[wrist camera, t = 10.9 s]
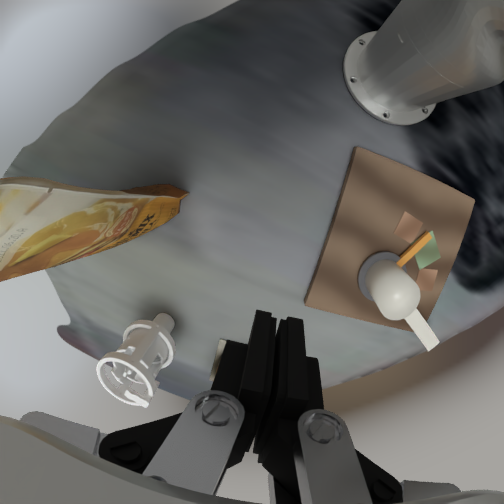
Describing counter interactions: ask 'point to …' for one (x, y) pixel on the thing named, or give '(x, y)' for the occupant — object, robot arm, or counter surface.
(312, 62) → the counter surface
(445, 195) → the brown square board
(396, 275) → the white handled piece
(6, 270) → the pancake mix bag
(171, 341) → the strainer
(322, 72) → the counter surface
